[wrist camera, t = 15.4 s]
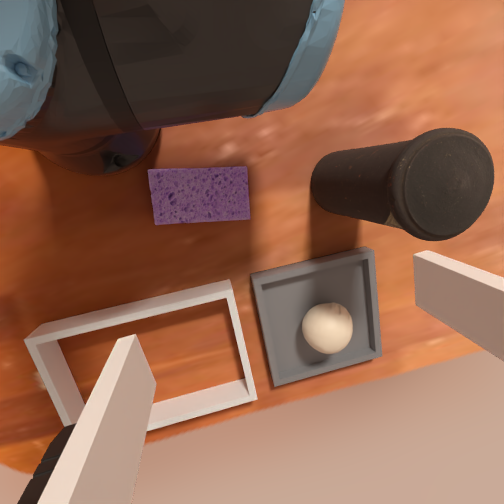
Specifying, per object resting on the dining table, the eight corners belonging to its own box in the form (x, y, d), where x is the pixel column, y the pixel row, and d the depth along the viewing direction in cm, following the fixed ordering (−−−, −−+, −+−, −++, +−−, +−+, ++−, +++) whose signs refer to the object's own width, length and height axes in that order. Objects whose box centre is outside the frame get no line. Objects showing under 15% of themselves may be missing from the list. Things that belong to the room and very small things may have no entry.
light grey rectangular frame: (87, 427, 44) (76, 451, 40) (41, 323, 39) (23, 339, 35) (253, 381, 46) (257, 399, 43) (229, 278, 41) (232, 289, 38)
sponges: (149, 169, 37) (147, 168, 35) (247, 166, 39) (249, 165, 37) (156, 223, 39) (154, 225, 37) (249, 218, 40) (251, 220, 39)
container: (327, 226, 42) (431, 266, 23) (295, 173, 39) (382, 169, 20) (376, 191, 42) (521, 202, 23) (347, 136, 39) (484, 96, 20)
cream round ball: (349, 310, 45) (373, 332, 38) (317, 344, 45) (336, 371, 39) (320, 285, 43) (340, 304, 37) (287, 321, 44) (302, 345, 37)
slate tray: (271, 376, 47) (274, 386, 44) (249, 273, 42) (252, 279, 39) (373, 347, 49) (382, 356, 46) (364, 246, 44) (374, 250, 41)
